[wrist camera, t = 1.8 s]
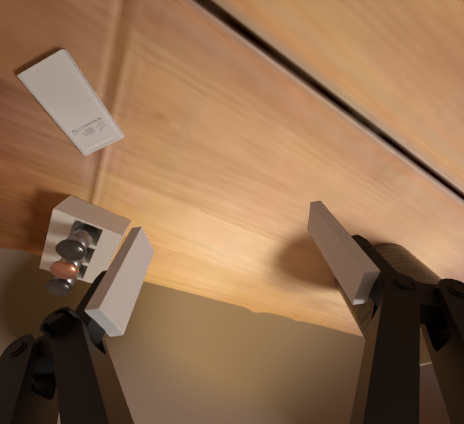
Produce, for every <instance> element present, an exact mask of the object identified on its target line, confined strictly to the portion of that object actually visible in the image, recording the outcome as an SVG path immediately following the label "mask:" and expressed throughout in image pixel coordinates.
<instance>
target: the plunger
mask: <svg viewBox="0 0 464 424" xmlns="http://www.w3.org/2000/svg"><path fill="white" fill-rule="evenodd" d="M83 270H84V266H83V265H81V266H80V268H79V273H78V274H77V276H76V277H75V278H73V279H62V278H59V277H56V276H55V277H54V279H51V280H49V281H48V282H47V283H46V285H45V289H46V290H47V291H48V292H50V293H52V294H55V295H60V296H64V295H67V294H69V293H70V292H71V290H72V289H73V287H72V285H73V284H74V282H75V281H76V279H77V278H78V277H79V275H80V274H81V273H82V271H83Z"/></svg>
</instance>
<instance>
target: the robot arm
mask: <svg viewBox="0 0 464 424" xmlns="http://www.w3.org/2000/svg"><path fill="white" fill-rule="evenodd" d="M308 232H309V233H310V235H311V237H312V238H313V240H314V242H315V243H316V245H317V247H318V248H319V250H320V252H321V253H322V255H323V257H324V258H325V260H326V262H327V263H328V265H329V267H330V268H331V270H332V272H333V273H334V275H335V277H336V278H337V280H338V282H339V283H340V285H341V287H342V288H343V290H344V292H345V293H346V295H347V297H348V298H349V300H350V302H351V303H352V305H355V304H363V303H366V302H367V300H368V298H369V297H370V299H371V300H372V302H373V306H372V308H371V310H370V312H369V314H370V320H369V325H368V331H367V336H366V341H365V346H364V351H363V357H362V362H361V367H360V372H359V378H358V383H357V388H356V393H355V398H354V404H353V409H352V415H351V419H350V424H419V381H420V378H419V377H420V373H419V372H420V371H419V370H420V327H421V330H422V333H423V336H424V339H425V343H426V346H427V349H428V352H429V355H430V358H431V362H432V365H433V368H434V371H435V374H436V377H437V381H438V384H439V387H440V390H441V393H442V396H443V400H444V403H445V406H446V409H447V412H448V415H449V419H450V422H451V424H464V283H463V282H461V281H458V280H454V279H447V278H445V279H441V280H440V281H439V282H438V284H429V283H421V282H416V281H415V280H414V279H412V278H411V277H409V276H407V275H405V274H402V273H398V272H397V271H396V270H395V269H394V268H393V267H392V266H391V265H390V264H389V263H388V262H387V261H386V260H385V259H384V258H383V257H382V256H381V254H380V253H379V252H377V250H376V249H375V248H374V247H373V246H372V245H371V244H370V243H369V242H368V241H367V240H366V239H365V238H363V237H361V236H360V235H353V236H350V235H349V233H348V232H347V231H346V230H345V229H344V228H343V226H342V225H341V224H340V223H339V222H338V221H337V219H336V218H335V217H334V216H333V215H332V214H331V212H330V211H329V210H328V209H327V208H326V207H325V205H324V204H323V203H322V202H321V201H315V202H310V212H309V221H308ZM153 254H154V250H153V248H152V246H151V244H150V242H149V240H148V238H147V236H146V234H145V232H144V230H143V228H142V227H135V228H132V229H131V231H130V232H129V234H128V236H127V238H126V239H125V241H124V243H123V244H122V246H121V248H120V250H119V251H118V253H117V255H116V256H115V258H114V260H113V262H112V263H111V265H110V267H109V268H108V270H106V271H102V272H101V273H100V274H99V275H98V276H97V277H96V278H95V280H94V281H93V283H92V285H91V287H90V288H89V290H88V292H87V293H86V294H85V296H84V298H83V299H82V301H81V302H80V304H79V306H78V307H77V309H76V310H75V312H74V311H73V310H72V309H71V308H70V307H62V308H59V309H57V310H55V311H54V312H52V313H51V314H49V315H48V316H47V317H46V318H45V319H44V321H43V322H42V324H41V325H40V331H41V332H43V333H44V334H45V335H43V336H41V337H38V338H36V337H35V336H33V335H32V334H31V335H30V334H29V335H28V334H27V335H24V336H22V337H20V338H18V339H17V340H15V341H14V342H13V343H11V344H10V345H9V346H8V347H7V348H6V349H5V350H4V352H3V353H2V355H1V357H0V424H57V421H58V414H59V413H60V422H61V424H134V422H133V420H132V417H131V414H130V411H129V408H128V406H127V402H126V400H125V397H124V394H123V391H122V388H121V385H120V383H119V380H118V377H117V374H116V371H115V368H114V366H113V363H112V360H111V357H110V354H109V351H108V349H107V346H106V343H105V341H104V340H103V339H102V338H103V336H104V333H105V332H106V333H107V334H108V335H109V336H110V337H111V336H118V335H123V334H124V331H125V328H126V326H127V323H128V321H129V318H130V315H131V313H132V310H133V307H134V305H135V302H136V299H137V297H138V293H139V291H140V288H141V286H142V283H143V280H144V278H145V275H146V272H147V270H148V267H149V264H150V262H151V259H152V256H153Z"/></svg>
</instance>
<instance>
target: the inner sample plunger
mask: <svg viewBox="0 0 464 424" xmlns="http://www.w3.org/2000/svg"><path fill="white" fill-rule="evenodd" d="M97 235H98V230H97V229H96V228H95V227H94V226H91V225H89V224H80V225H79V226H78V227H77V228H76V229H75V230H74V231H73V232H72V233H71V234H70V236H69V237H68V238H67V239H65V240H62V241H60V242H59V243H58V244H57V245H56V247H55V250H56V252H57V253H58V254H59V255H60V256H61V257H63V258H65V259H67V260H72V261H77V260H81V259H82V258H83V257H84V256H85V254H86V252H87V251H86V249H87V248H88V247H89V245H90V244H91V243H92V241H93V240H94V239H95V238H96V236H97Z"/></svg>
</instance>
